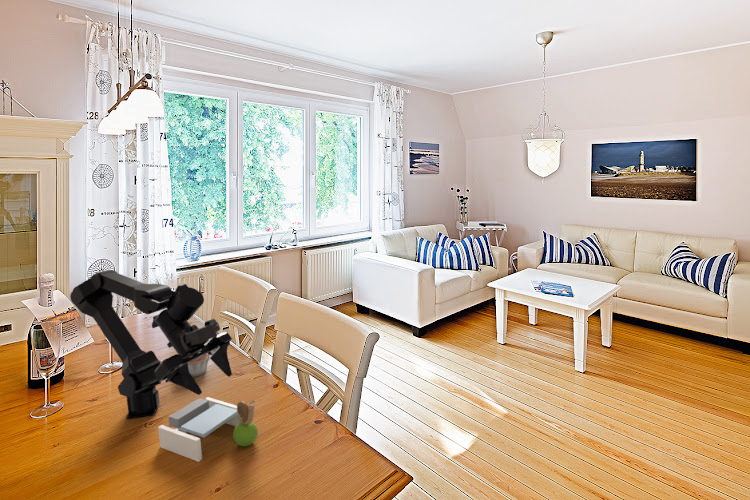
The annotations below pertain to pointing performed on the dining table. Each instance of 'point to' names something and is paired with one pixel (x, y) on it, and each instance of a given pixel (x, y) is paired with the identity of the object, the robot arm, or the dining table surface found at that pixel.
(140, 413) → the robot arm
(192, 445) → the frame
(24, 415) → the dining table surface
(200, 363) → the cupcake
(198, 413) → the trapdoor
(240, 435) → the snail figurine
